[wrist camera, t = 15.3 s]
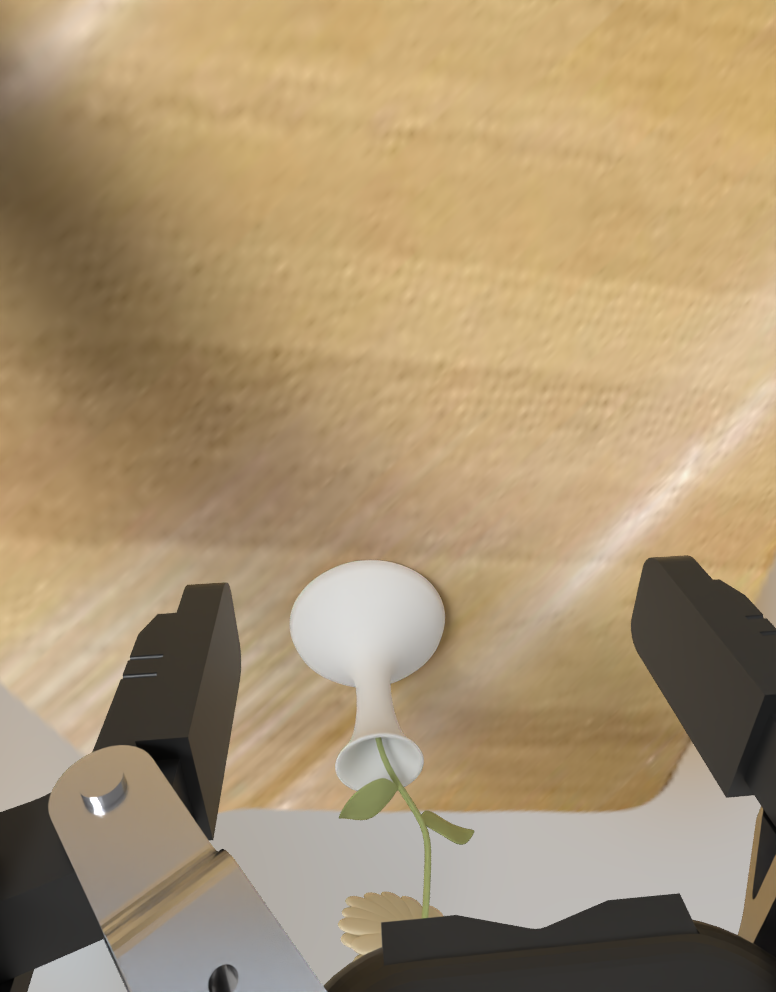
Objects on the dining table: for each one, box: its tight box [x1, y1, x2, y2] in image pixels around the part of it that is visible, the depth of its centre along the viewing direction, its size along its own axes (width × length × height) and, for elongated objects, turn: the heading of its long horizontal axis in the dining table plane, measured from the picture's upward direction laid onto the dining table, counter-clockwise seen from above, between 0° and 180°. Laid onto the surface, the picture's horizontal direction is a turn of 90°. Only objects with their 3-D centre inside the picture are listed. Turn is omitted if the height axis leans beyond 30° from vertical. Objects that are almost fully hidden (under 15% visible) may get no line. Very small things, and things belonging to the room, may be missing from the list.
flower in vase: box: [290, 560, 474, 961], centre depth 37 cm, size 13×11×25 cm
